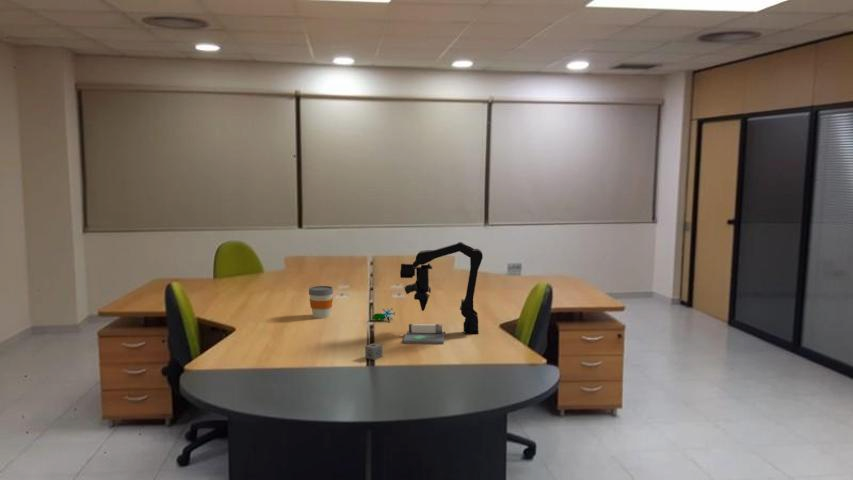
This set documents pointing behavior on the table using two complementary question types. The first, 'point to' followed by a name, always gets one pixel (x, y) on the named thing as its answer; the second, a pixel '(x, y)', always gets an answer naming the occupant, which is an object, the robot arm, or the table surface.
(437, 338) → the plate
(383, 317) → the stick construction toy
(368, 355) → the dice cube
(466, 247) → the robot arm
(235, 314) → the table surface
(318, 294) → the reusable coffee cup
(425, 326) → the light grey rounded bar
